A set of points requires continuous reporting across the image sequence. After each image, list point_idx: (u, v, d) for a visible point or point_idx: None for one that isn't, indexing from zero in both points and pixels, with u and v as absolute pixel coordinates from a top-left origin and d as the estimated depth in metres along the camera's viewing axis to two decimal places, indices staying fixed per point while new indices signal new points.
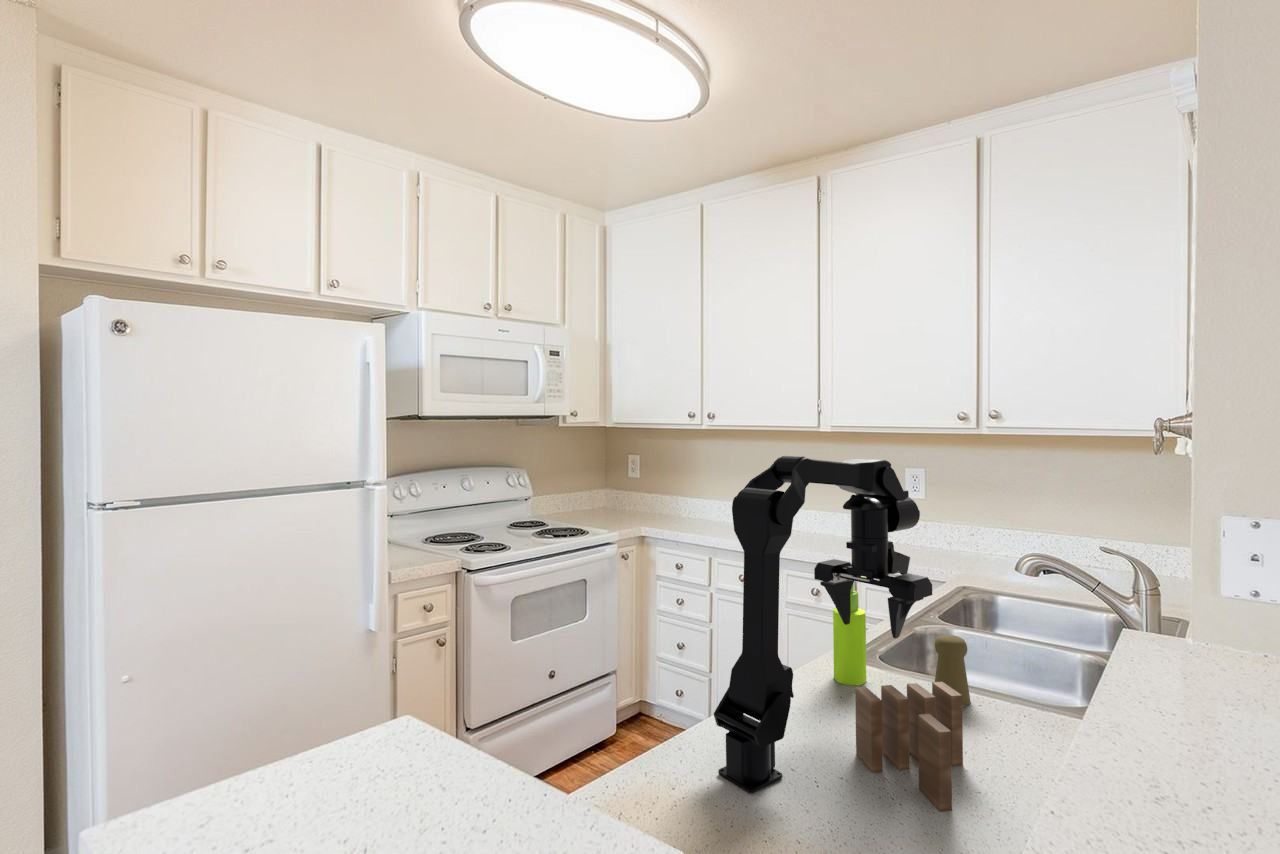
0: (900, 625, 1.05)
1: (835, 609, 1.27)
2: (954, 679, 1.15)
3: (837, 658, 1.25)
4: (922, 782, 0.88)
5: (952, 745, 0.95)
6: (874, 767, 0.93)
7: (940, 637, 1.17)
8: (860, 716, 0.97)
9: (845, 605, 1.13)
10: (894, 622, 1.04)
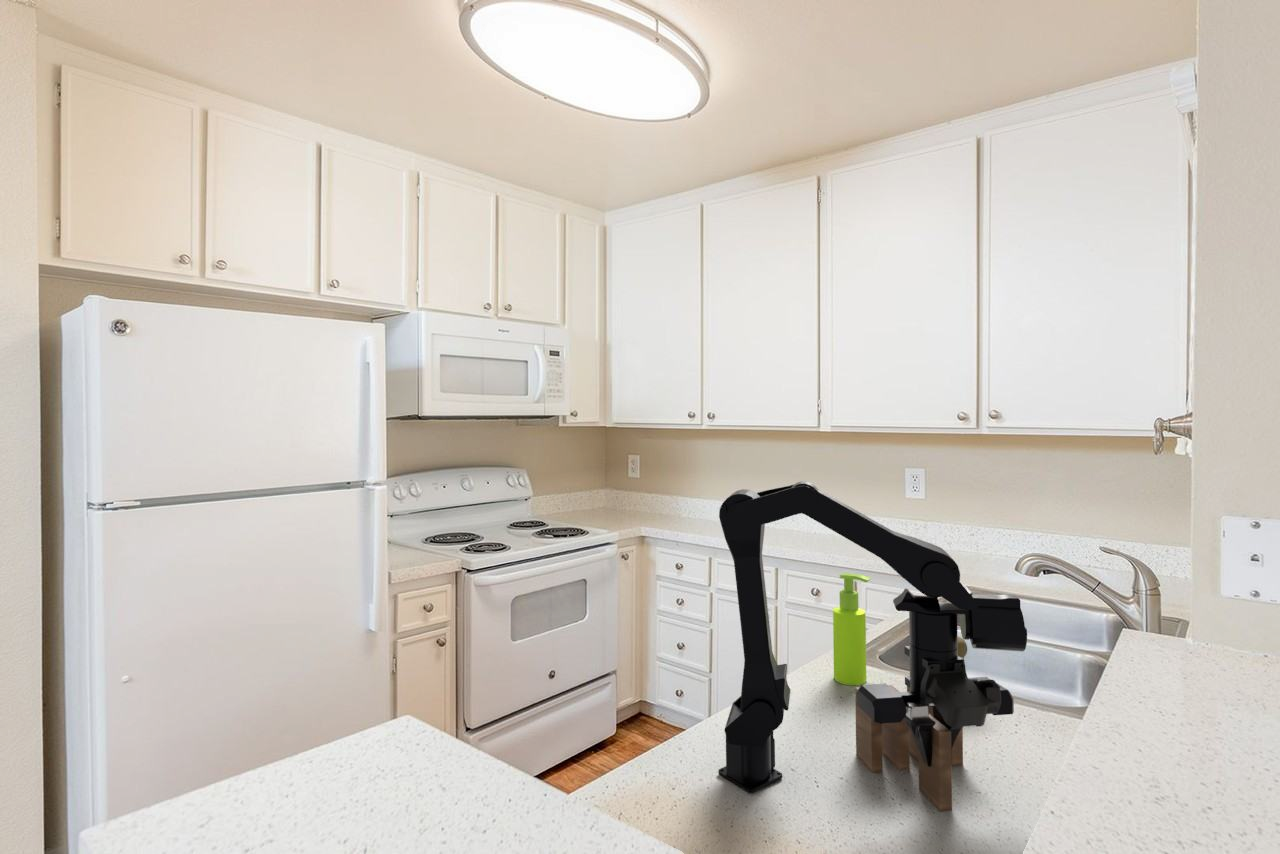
0: (921, 748, 0.86)
1: (835, 609, 1.27)
2: None
3: (837, 658, 1.25)
4: (922, 782, 0.88)
5: None
6: (874, 767, 0.93)
7: None
8: (860, 716, 0.97)
9: None
10: None
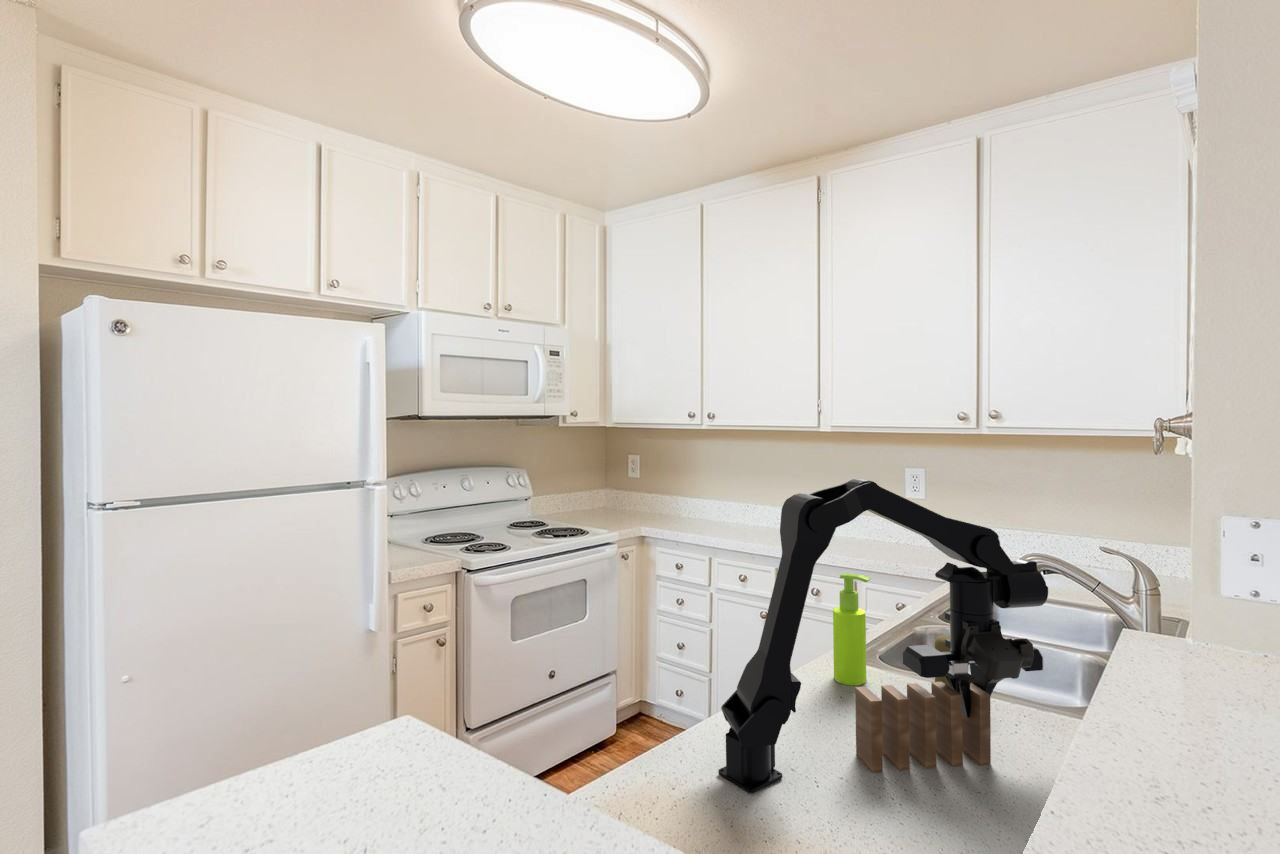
0: None
1: (835, 609, 1.27)
2: None
3: (837, 658, 1.25)
4: (962, 741, 0.99)
5: (952, 745, 0.95)
6: (874, 767, 0.93)
7: (940, 637, 1.17)
8: (860, 716, 0.97)
9: None
10: None
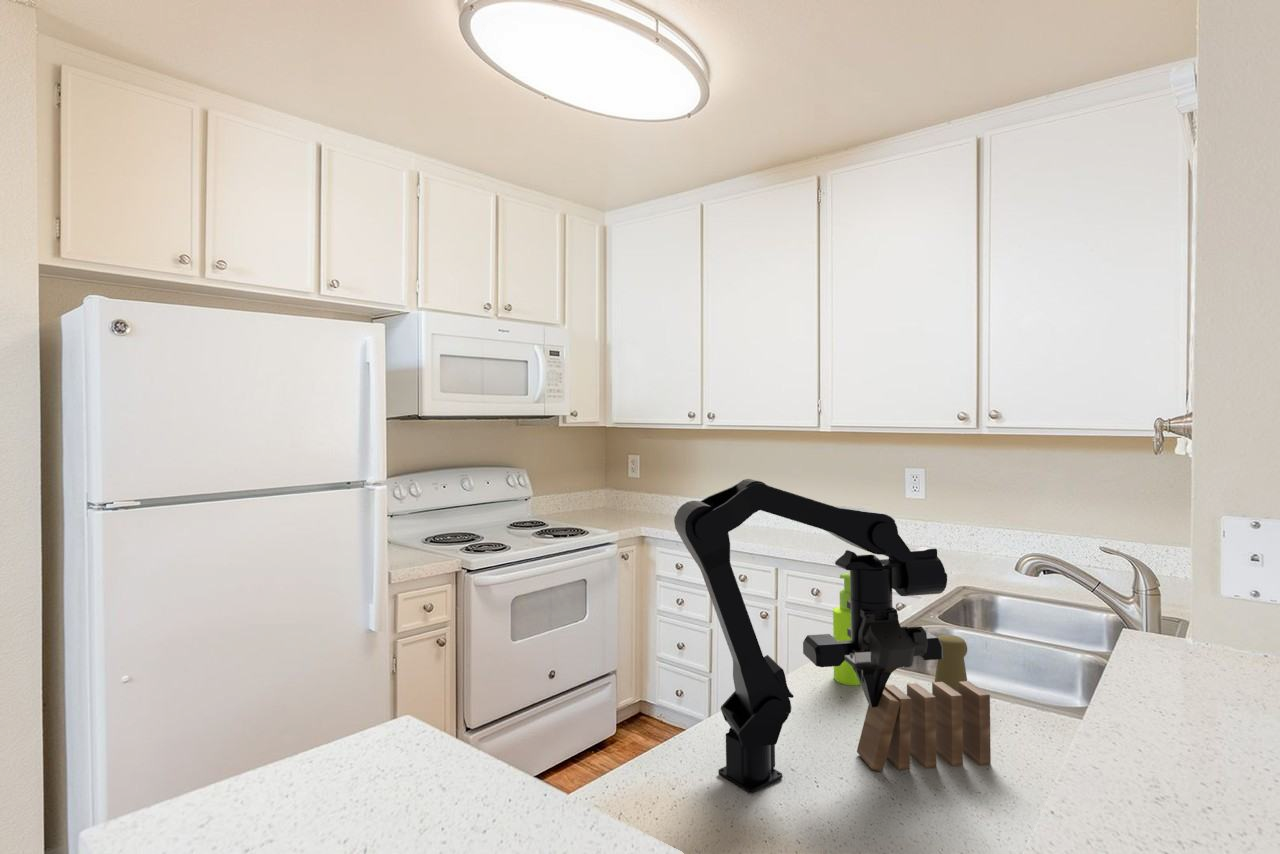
0: (865, 691, 0.96)
1: (835, 609, 1.27)
2: (954, 679, 1.15)
3: None
4: None
5: (952, 745, 0.95)
6: (876, 765, 0.93)
7: (940, 637, 1.17)
8: (872, 714, 0.97)
9: None
10: None
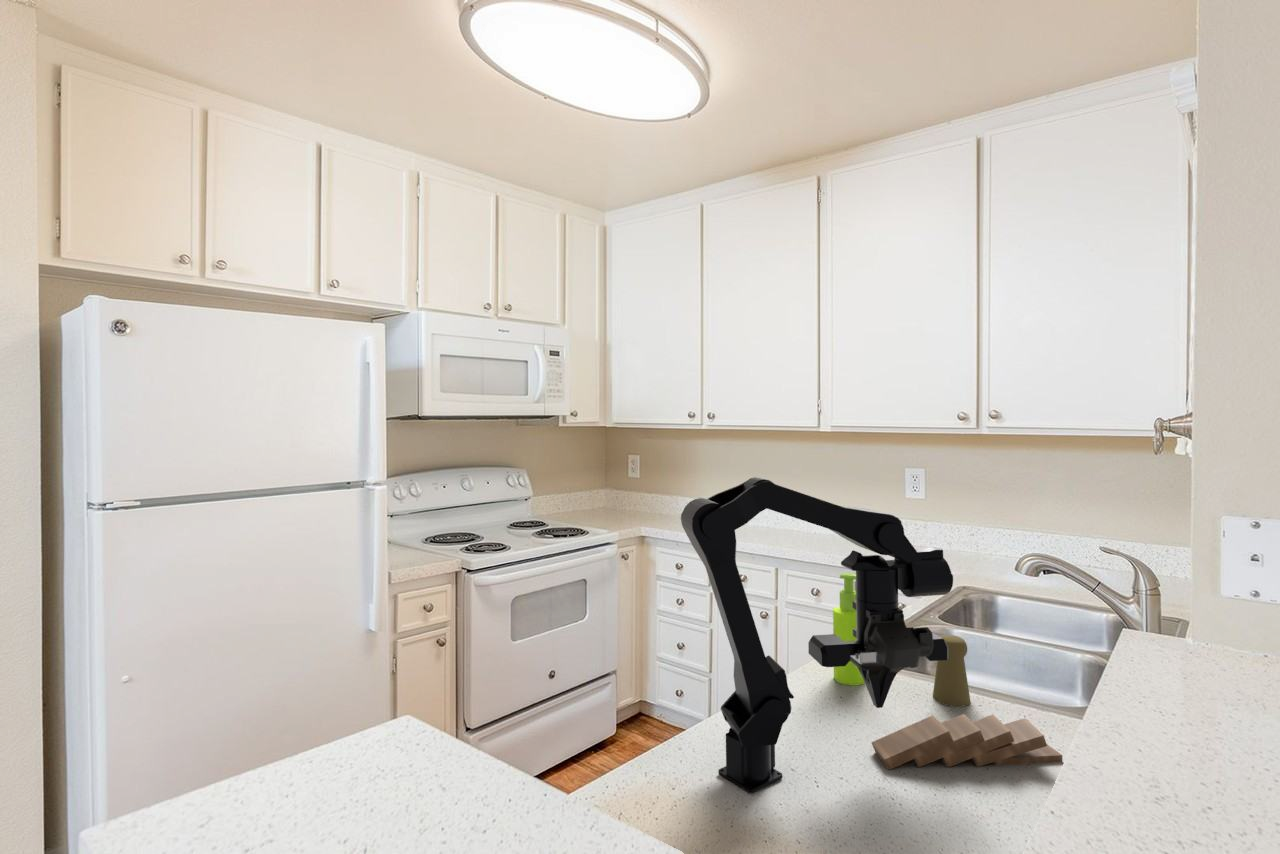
0: (871, 692, 0.96)
1: (835, 609, 1.27)
2: (954, 679, 1.15)
3: None
4: None
5: (993, 750, 0.94)
6: (889, 760, 0.94)
7: None
8: (915, 729, 0.97)
9: None
10: None
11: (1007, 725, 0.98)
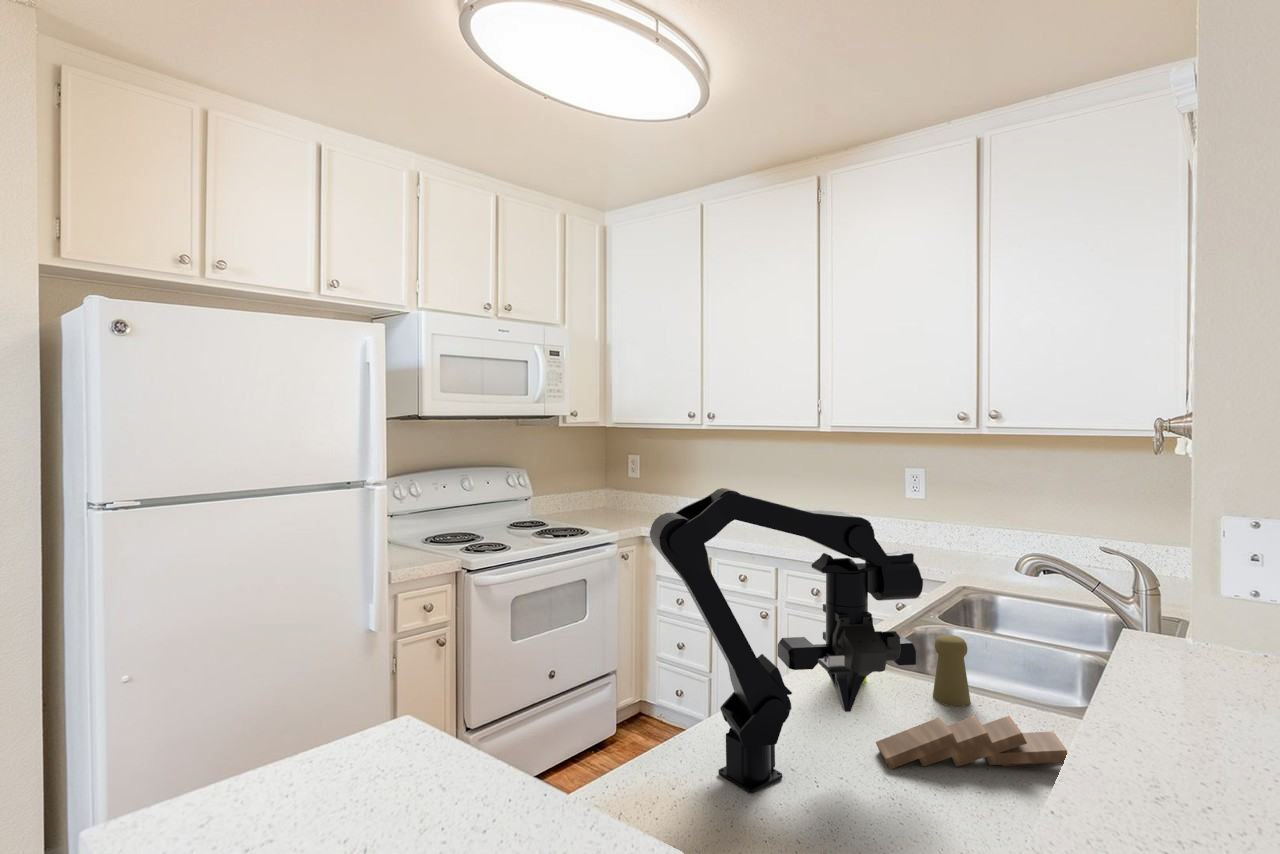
0: (839, 695, 0.95)
1: None
2: (954, 679, 1.15)
3: None
4: None
5: (1010, 753, 0.93)
6: (891, 759, 0.94)
7: (940, 637, 1.17)
8: (919, 731, 0.97)
9: None
10: None
11: (1032, 734, 0.96)
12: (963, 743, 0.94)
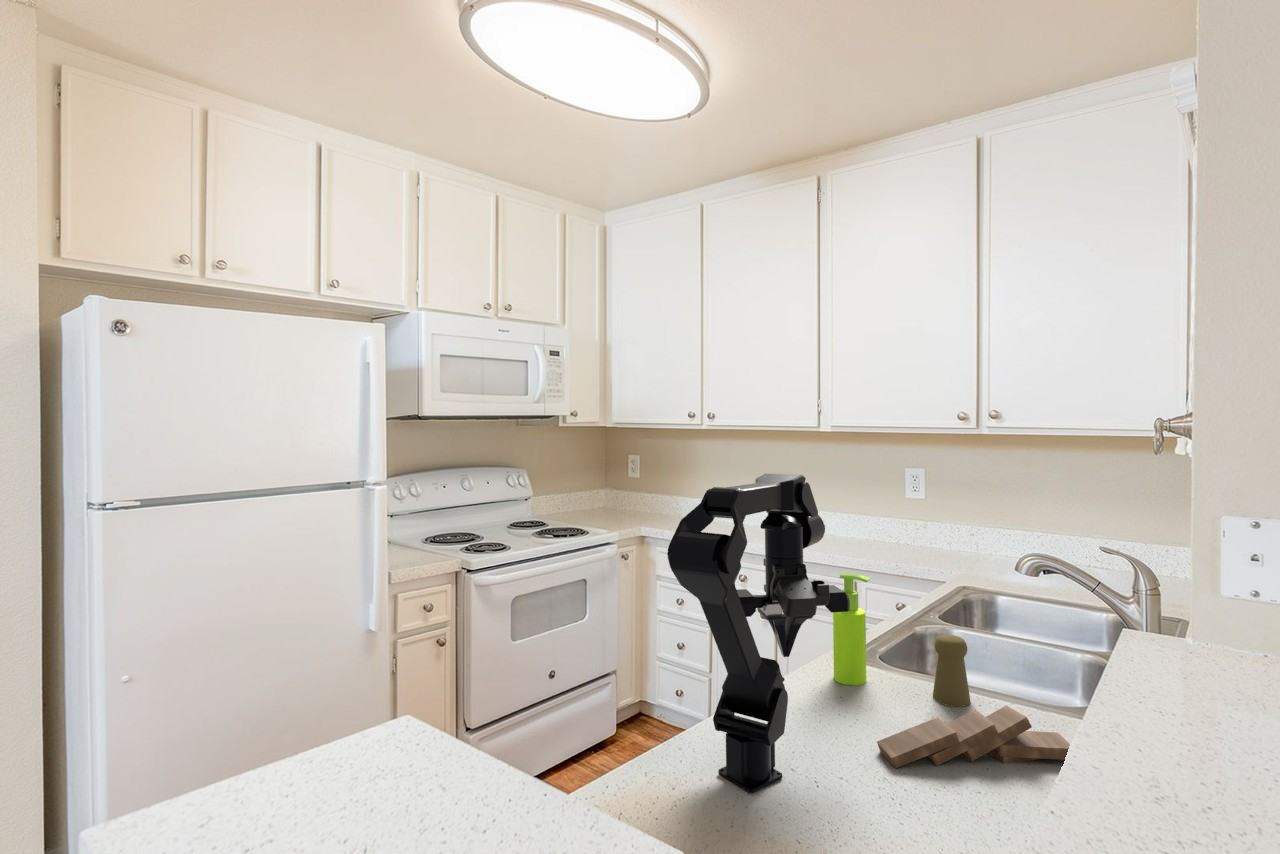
0: (778, 642, 1.03)
1: None
2: (954, 679, 1.15)
3: (836, 658, 1.25)
4: None
5: (1021, 746, 0.95)
6: (897, 758, 0.94)
7: (940, 637, 1.17)
8: (920, 730, 0.98)
9: (786, 634, 1.03)
10: None
11: (1038, 733, 0.99)
12: (973, 737, 0.95)
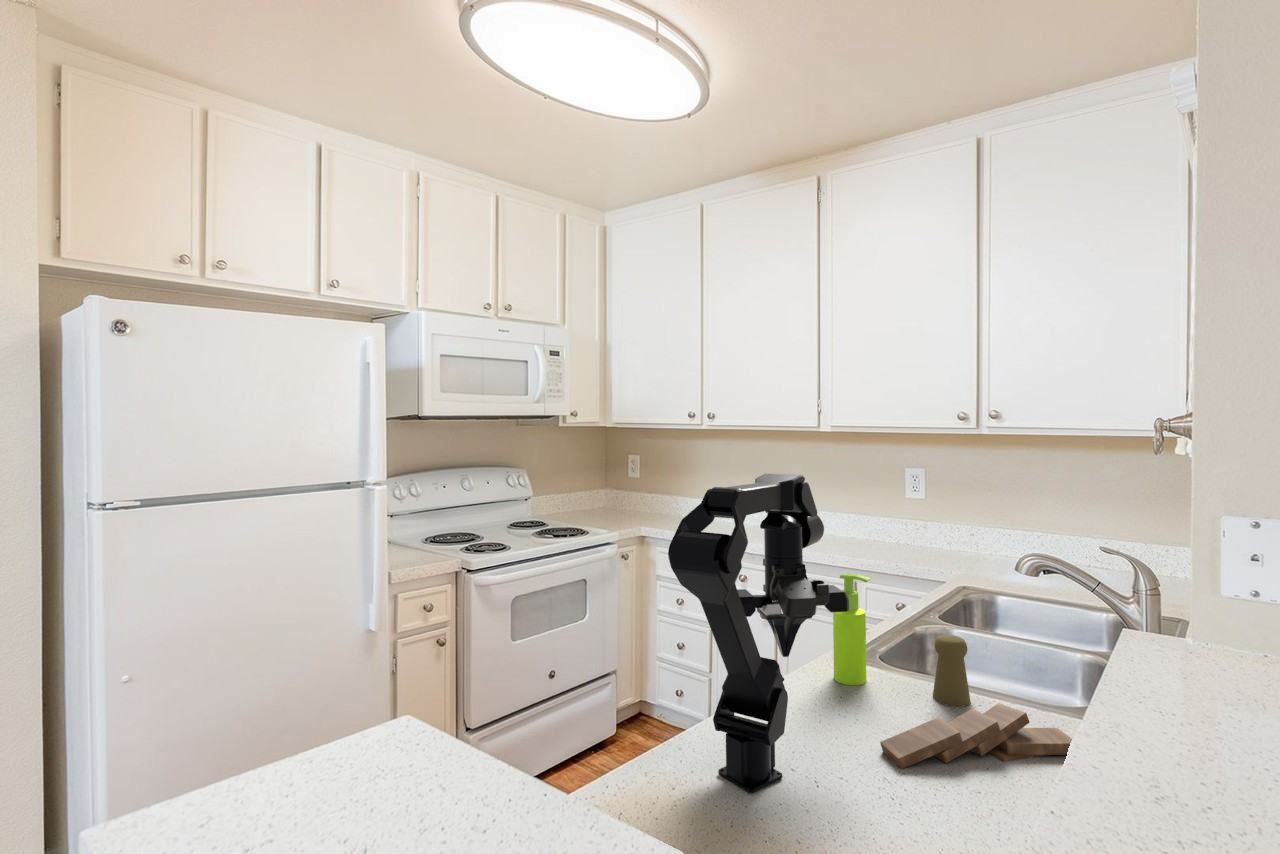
0: (778, 642, 1.03)
1: None
2: (954, 679, 1.15)
3: (836, 658, 1.25)
4: None
5: (1027, 743, 0.97)
6: (903, 759, 0.94)
7: (940, 637, 1.17)
8: (923, 730, 0.98)
9: (785, 634, 1.03)
10: None
11: (1039, 729, 1.01)
12: (979, 734, 0.97)
